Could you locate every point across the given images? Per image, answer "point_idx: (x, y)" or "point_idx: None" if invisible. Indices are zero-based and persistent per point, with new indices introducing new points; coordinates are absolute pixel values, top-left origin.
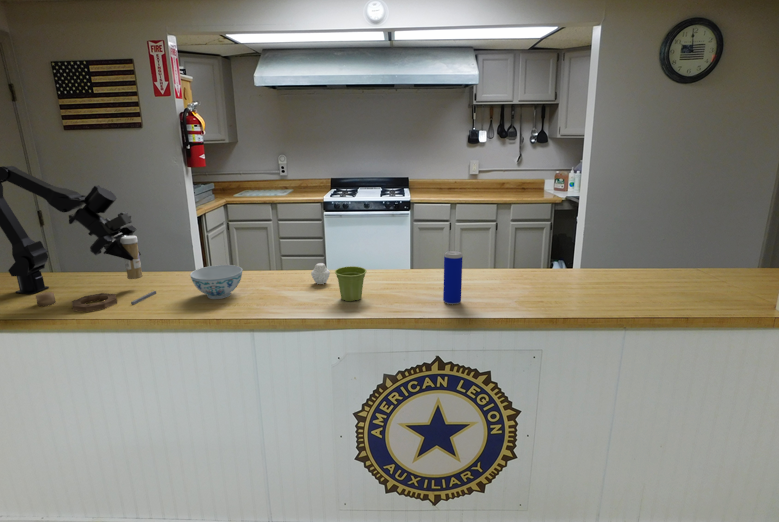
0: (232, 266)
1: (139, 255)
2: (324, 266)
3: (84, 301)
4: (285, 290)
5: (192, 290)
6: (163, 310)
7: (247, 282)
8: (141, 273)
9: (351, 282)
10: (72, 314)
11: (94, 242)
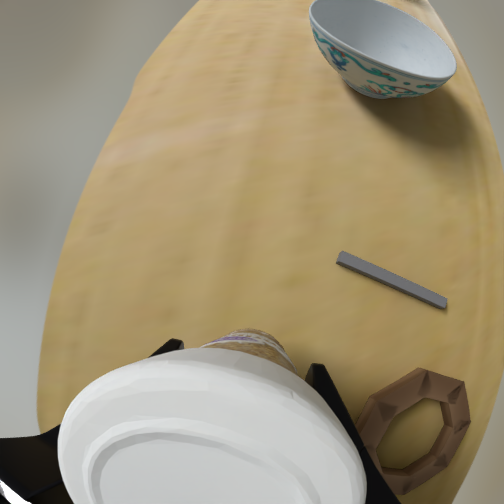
0: (318, 2)
1: (183, 347)
2: None
3: (394, 471)
4: None
5: (319, 135)
6: (475, 196)
7: (264, 36)
8: (250, 331)
9: None
10: (462, 444)
11: None
